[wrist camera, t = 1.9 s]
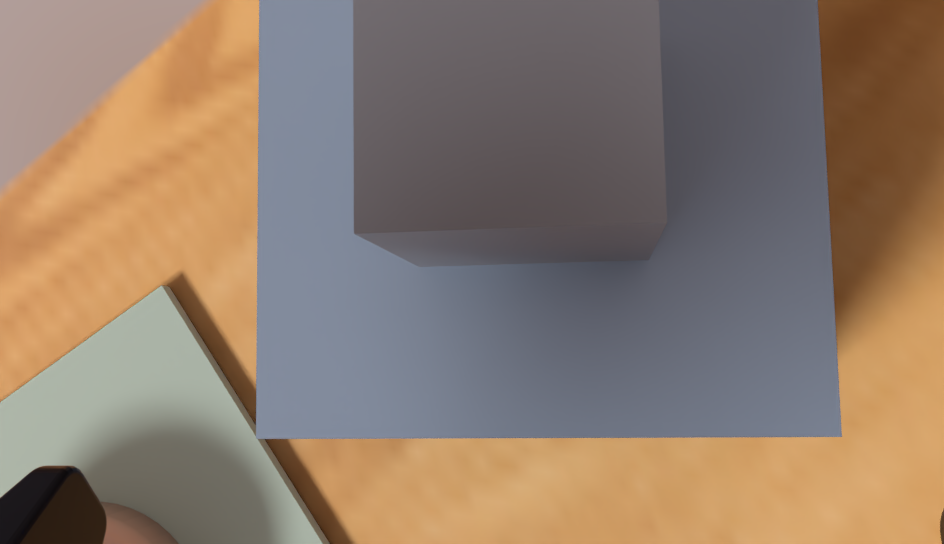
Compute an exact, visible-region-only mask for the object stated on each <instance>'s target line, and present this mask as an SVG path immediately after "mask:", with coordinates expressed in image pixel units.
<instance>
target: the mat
mask: <svg viewBox="0 0 944 544" xmlns="http://www.w3.org/2000/svg"><path fill="white" fill-rule="evenodd" d="M41 466H75V467H76V468H78V469H80V470H81V472H82V473H83V474H84V476H85V478H86V479H87V481H88V482H89V484H90V486H91V487H92V489H93V491H94V492H95V494H96V495H97V497H98V499H99V500H100V502H108V503H115V504H119V505H122V506H126V507H129V508H132V509H134V510H136V511H138V512H140V513H142V514H145V515H146V516H148V517H149V518H151V519H152V520H154V521H155V522H157V523H158V524H159V525H161V526H162V527H163V528H164V529H165V530H166V531H168V532H169V533H170V534H171V535H172V537H173V538H174V539H175V540H176V541H177V542H178V543H179V544H330V543H329V542H328V540H327V538H326V537H325V535H324V534H323V532H322V530H321V529H320V527H319V526H318V524H317V522H316V521H315V519H314V518H313V516H312V514H311V513H310V511H309V510H308V508H307V506H306V505H305V503H304V502H303V500H302V498H301V497H300V495H299V494H298V492H297V490H296V489H295V487H294V486H293V484H292V482H291V481H290V479H289V478H288V476H287V474H286V473H285V471H284V470H283V468H282V466H281V465H280V463H279V462H278V460H277V458H276V457H275V455H274V454H273V452H272V450H271V449H270V447H269V446H268V444H267V442H266V441H265V439H256V425H255V423H254V422H253V420H252V418H251V417H250V415H249V414H248V412H247V410H246V409H245V407H244V406H243V404H242V402H241V401H240V399H239V398H238V396H237V394H236V393H235V391H234V390H233V388H232V386H231V385H230V383H229V382H228V380H227V378H226V377H225V375H224V374H223V372H222V370H221V369H220V367H219V366H218V364H217V362H216V361H215V359H214V358H213V356H212V354H211V353H210V351H209V350H208V348H207V346H206V345H205V343H204V342H203V340H202V338H201V337H200V335H199V334H198V332H197V330H196V329H195V327H194V326H193V324H192V322H191V321H190V319H189V318H188V316H187V314H186V313H185V311H184V310H183V308H182V306H181V305H180V303H179V302H178V300H177V298H176V297H175V295H174V294H173V292H172V290H171V289H170V287H168V286H162V285H161V286H160V287H159V288H157V289H156V290H155V291H153V292H152V293H150V294H149V295H148V296H146V297H145V298H143V299H142V300H141V301H139V302H138V303H137V304H135V305H134V306H132V307H131V308H130V309H128V310H127V311H126V312H124V313H123V314H121V315H120V316H119V317H117V318H116V319H115V320H113V321H112V322H110V323H109V324H108V325H106V326H105V327H103V328H102V329H101V330H99V331H98V332H97V333H95V334H94V335H92V336H91V337H90V338H88V339H87V340H86V341H84V342H83V343H81V344H80V345H79V346H77V347H76V348H74V349H73V350H72V351H70V352H69V353H68V354H66V355H65V356H63V357H62V358H61V359H59V360H58V361H57V362H55V363H54V364H52V365H51V366H50V367H48V368H47V369H45V370H44V371H43V372H41V373H40V374H39V375H37V376H36V377H34V378H33V379H32V380H30V381H29V382H28V383H26V384H25V385H23V386H22V387H21V388H19V389H18V390H17V391H15V392H14V393H12V394H11V395H10V396H8V397H7V398H5V399H4V400H3V401H1V402H0V497H2V496H3V495H4V494H5V493H6V492H7V491H9V490H10V489H11V488H12V487H13V486H14V485H16V484H17V483H18V482H19V481H20V480H22V479H23V478H24V477H25V476H26V475H27V474H29V473H30V472H31V471H33V470H34V469H36V468H38V467H41Z"/></svg>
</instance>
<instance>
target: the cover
mask: <svg viewBox="0 0 944 544" xmlns="http://www.w3.org/2000/svg"><path fill="white" fill-rule="evenodd" d="M658 437H842V433H841V415H840V397H839V379H838V361H837V342H836V324H835V306H834V288H833V270H832V252H831V234H830V216H829V198H828V180H827V162H826V143H825V125H824V107H823V89H822V71H821V53H820V35H819V17H818V0H259V122H258V248H257V373H256V439H383V438H658Z"/></svg>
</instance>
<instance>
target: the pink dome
mask: <svg viewBox="0 0 944 544" xmlns="http://www.w3.org/2000/svg"><path fill="white" fill-rule="evenodd" d="M101 504H102V505H103V507H104V509H105V513H106V518H107V527H106V534H105V538H104V542H103V544H179V543H178V542H177V541H176V540H175V539H174V538H173V537H172V535H171V534H170V533H169V532H168V531H166V530H165V529H164V528H163V527H162V526H161V525H159V524H158V523H157V522H155V521H154V520H152V519H151V518H149V517H148V516H146V515H145V514H142V513H140V512H138V511H136V510H134V509H132V508H129V507H126V506H122V505H119V504H115V503H108V502H101Z"/></svg>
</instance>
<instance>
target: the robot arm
mask: <svg viewBox="0 0 944 544" xmlns="http://www.w3.org/2000/svg"><path fill="white" fill-rule="evenodd" d="M106 527H107V518H106V513H105V509H104V507H103V505H102V504H101V502H100V500H99V499H98V497H97V495H96V494H95V492H94V491H93V489H92V487H91V486H90V484H89V482H88V481H87V479H86V478H85V476H84V474H83V473H82V472H81V470H80V469H78V468H76V467H75V466H41V467H38V468H36V469H34V470H33V471H31V472H30V473H29V474H27V475H26V476H25V477H24V478H23V479H22V480H20V481H19V482H18V483H17V484H16V485H14V486H13V487H12V488H11V489H10V490H9V491H7V492H6V493H5V494H4V495H3V496H2V497H0V544H103V542H104V538H105V534H106ZM940 533H941V541H942V544H944V510H943V512H942V516H941V521H940Z"/></svg>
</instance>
